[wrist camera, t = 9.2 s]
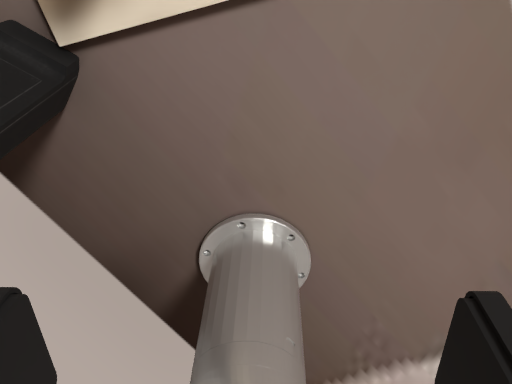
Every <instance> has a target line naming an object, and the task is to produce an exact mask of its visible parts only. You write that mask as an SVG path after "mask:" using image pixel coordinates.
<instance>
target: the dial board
mask: <svg viewBox="0 0 512 384" xmlns="http://www.w3.org/2000/svg"><path fill="white" fill-rule="evenodd" d="M224 1H227V0H38V2H39V4H40V7H41V9H42V11H43V13H44V15H45V17H46V19H47V21H48V23H49V26H50V28H51V30H52V32H53V34H54V36H55V38H56V40H57V42H58V45H59V47H61V46H65V45H68V44H72V43H75V42H79V41H83V40H86V39H90V38H94V37H97V36H101V35H104V34H108V33H112V32H115V31H119V30H122V29H126V28H130V27H133V26H137V25H141V24H144V23H148V22H151V21H155V20H159V19H162V18H166V17H169V16H173V15H177V14H180V13H184V12H187V11H191V10H195V9H198V8H202V7H206V6H209V5H213V4H216V3H220V2H224Z"/></svg>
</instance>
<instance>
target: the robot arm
mask: <svg viewBox="0 0 512 384" xmlns="http://www.w3.org/2000/svg"><path fill="white" fill-rule="evenodd" d="M199 265H200V270H201V272H202V275H203V277H204V279H205V280H206V281H207V283H208V287H207V292H206V298H205V303H204V309H203V314H202V320H201V325H200V331H199V336H198V342H197V347H196V353H195V358H194V364H193V369H192V375H191V381H190V384H306V378H305V365H304V351H303V337H302V324H301V310H300V296H299V288H300V287H301V286H302V285H303V284H304V282H305V281H306V279H307V277H308V275H309V272H310V267H311V256H310V250H309V246H308V244H307V242H306V240H305V238H304V237H303V235H302V234H301V233H300V232H299V231H298V230H297V229H296V228H295V227H293V226H292V225H291V224H289V223H288V222H286V221H284V220H282V219H280V218H277V217H274V216H271V215H265V214H243V215H237V216H234V217H231V218H228V219H226V220H224V221H222V222H220V223H218V224H217V225H216V226H215V227H213V228H212V229H211V230H210V231H209V233H208V234H207V235H206V236H205V238H204V240H203V242H202V245H201V249H200V253H199ZM56 382H57V374H56V371H55V368H54V366H53V363H52V360H51V357H50V355H49V352H48V350H47V347H46V344H45V341H44V338H43V336H42V333H41V330H40V327H39V325H38V322H37V319H36V317H35V314H34V311H33V308H32V306H31V303H30V301H29V298H28V296H27V295H25V294H22V292H21V291H20V289H18V288H15V287H0V384H56ZM435 384H512V309H511V307H510V306H509V304H508V303H507V301H506V300H505V298H504V297H503V296H502V294H501V293H499V292H497V291H469V292H468V293H467V294H466V296H465V298H459V299H458V301H457V304H456V307H455V311H454V314H453V318H452V321H451V325H450V328H449V332H448V336H447V339H446V343H445V346H444V350H443V353H442V357H441V360H440V364H439V367H438V371H437V375H436V378H435Z"/></svg>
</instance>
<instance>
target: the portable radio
mask: <svg viewBox="0 0 512 384" xmlns="http://www.w3.org/2000/svg"><path fill="white" fill-rule="evenodd" d="M78 71H79V58H78V57H77V56H76V55H75V54H73V53H71V52H69V51H68V50H66V49H64V48H62V47H59V45H57V44H55V43H53V42H52V41H50V40H48V39H46V38H45V37H43V36H41V35H39V34H37V33H36V32H34V31H32V30H30V29H29V28H27V27H25V26H23V25H22V24H20V23H18V22H16V21H13V20H8V21H4V22H1V23H0V159H2V158H3V157H4V156H5V155H7V154H8V153H9V152H10V151H11V150H13V149H14V148H15V147H16V146H18V145H19V144H20V143H21V142H22V141H24V140H25V139H26V138H27V137H29V136H30V135H31V134H32V133H34V132H35V131H36V130H37V129H39V128H40V127H41V126H42V125H44V124H45V123H46V122H47V121H49V120H50V119H51V118H53V117H54V116H55V115H57V114H58V113H59V112H61V111H62V110H63V108H64V107H65V105H66V103H67V101H68V98H69V96H70V93H71V91H72V89H73V86H74V84H75V81H76V79H77V76H78Z"/></svg>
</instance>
